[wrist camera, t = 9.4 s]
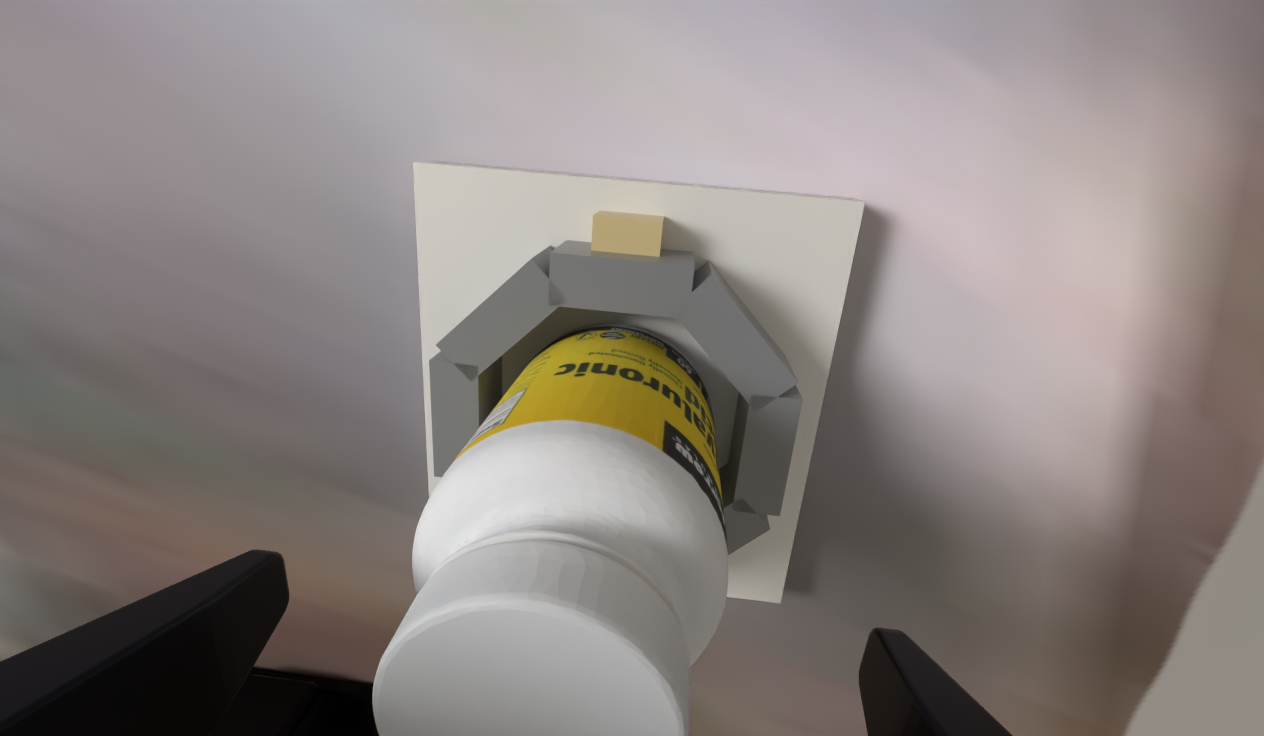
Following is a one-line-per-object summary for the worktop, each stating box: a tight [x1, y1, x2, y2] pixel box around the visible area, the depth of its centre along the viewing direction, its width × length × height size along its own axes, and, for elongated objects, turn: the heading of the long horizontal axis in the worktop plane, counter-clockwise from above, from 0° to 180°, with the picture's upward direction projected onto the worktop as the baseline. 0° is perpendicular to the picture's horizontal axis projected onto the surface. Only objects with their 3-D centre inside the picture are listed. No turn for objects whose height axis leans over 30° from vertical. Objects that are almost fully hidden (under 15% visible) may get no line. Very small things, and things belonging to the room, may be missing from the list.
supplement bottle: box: [372, 323, 728, 736], centre depth 12 cm, size 5×5×10 cm
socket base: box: [413, 161, 865, 603], centre depth 16 cm, size 12×11×3 cm
